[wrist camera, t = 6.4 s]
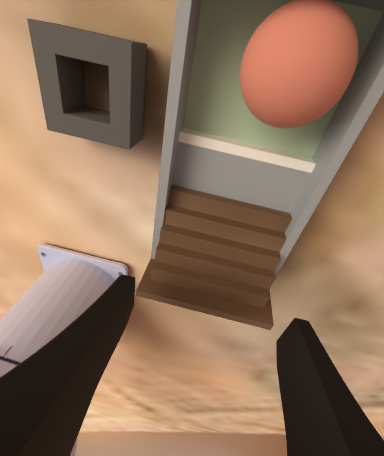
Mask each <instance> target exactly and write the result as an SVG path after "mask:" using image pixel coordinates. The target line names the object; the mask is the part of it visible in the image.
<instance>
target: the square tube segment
mask: <svg viewBox="0 0 384 456" xmlns="http://www.w3.org/2000/svg"><path fill="white" fill-rule="evenodd" d="M27 20H28V25H29V31H30V36H31V42H32V47H33V53H34V58H35V63H36V69H37V74H38V80H39V85H40V91H41V96H42V102H43V107H44V113H45V118H46V124H47V129H48V130H50V131H55V132H59V133H63V134H67V135H71V136H76V137H80V138H84V139H88V140H92V141H97V142H101V143H105V144H109V145H113V146H117V147H122V148H126V149H131V148H132V147H133V146H134V145H135V144H137V143H138V142H139V141H140V140H142V139H143V119H144V99H145V80H146V60H147V44H144V43H140V42H135V41H131V40H127V39H122V38H118V37H113V36H109V35H104V34H100V33H95V32H91V31H86V30H82V29H78V28H73V27H69V26H64V25H60V24H55V23H49V22H44V21H39V20H33V19H28V18H27ZM81 60H84V61H89V62H93V63H97V64H102V65H106V66H108V68H109V102H110V113H109V112H105V111H101V110H96V109H92V108H88V107H85V104H84V93H83V81H82V70H81Z"/></svg>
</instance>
